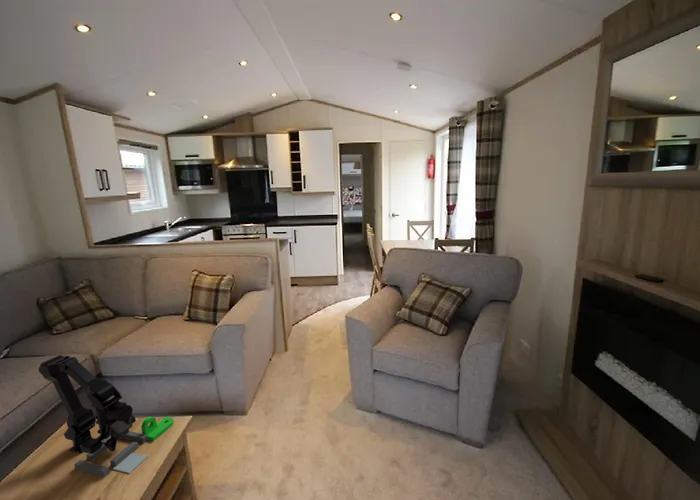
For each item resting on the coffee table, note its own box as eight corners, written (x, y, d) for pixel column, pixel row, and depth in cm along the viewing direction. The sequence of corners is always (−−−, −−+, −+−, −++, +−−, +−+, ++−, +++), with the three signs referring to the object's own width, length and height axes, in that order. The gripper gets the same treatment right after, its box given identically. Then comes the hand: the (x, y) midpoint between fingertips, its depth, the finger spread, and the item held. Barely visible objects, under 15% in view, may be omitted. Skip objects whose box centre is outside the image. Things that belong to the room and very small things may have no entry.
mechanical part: (154, 441, 140) (151, 424, 139) (143, 439, 142) (140, 422, 141) (176, 423, 151) (174, 407, 150) (166, 420, 153) (164, 404, 152)
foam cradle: (75, 469, 127) (74, 463, 127) (121, 434, 145) (120, 429, 145) (104, 477, 123) (103, 471, 123) (148, 440, 141) (147, 434, 141)
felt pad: (113, 469, 127) (112, 468, 127) (131, 453, 134) (131, 452, 134) (129, 473, 124) (129, 472, 124) (147, 457, 132) (147, 456, 132)
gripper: (99, 436, 120) (106, 474, 123) (143, 404, 138) (148, 437, 141) (75, 431, 123) (83, 468, 126) (122, 400, 141) (127, 433, 144)
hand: (113, 451), depth 134 cm, fingers closed
